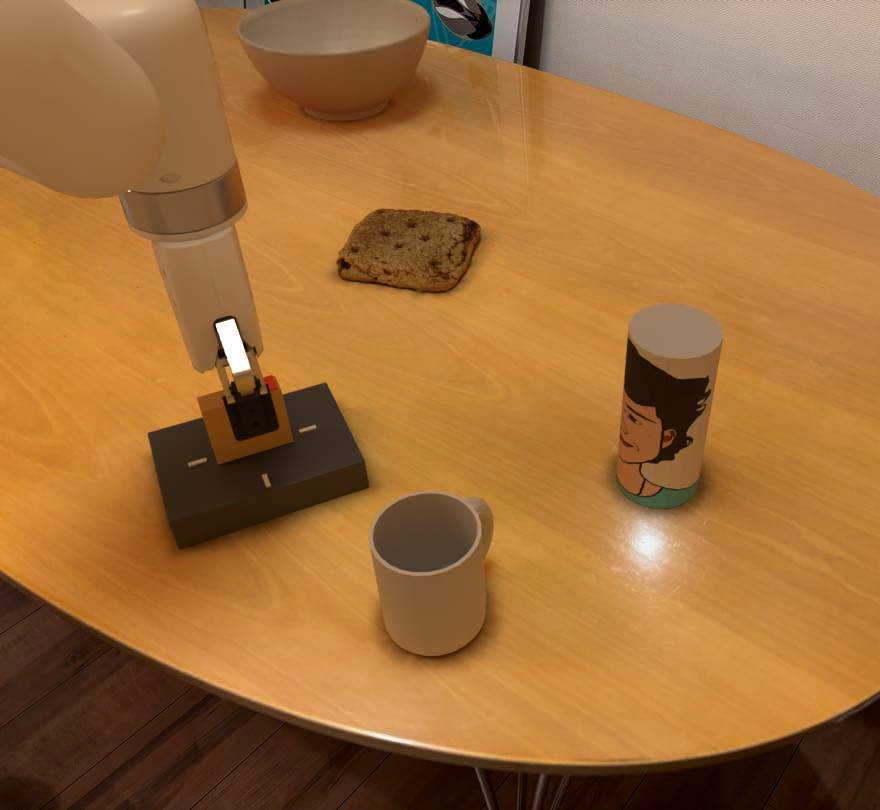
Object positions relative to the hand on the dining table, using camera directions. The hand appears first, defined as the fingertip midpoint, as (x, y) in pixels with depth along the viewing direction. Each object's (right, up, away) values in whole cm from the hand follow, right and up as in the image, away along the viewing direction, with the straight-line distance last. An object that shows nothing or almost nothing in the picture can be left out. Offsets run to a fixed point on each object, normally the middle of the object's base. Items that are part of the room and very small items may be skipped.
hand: (243, 394), depth 68 cm
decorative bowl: (-6, +44, +64) cm, 78 cm away
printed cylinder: (+32, -7, +5) cm, 34 cm away
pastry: (+8, +16, +31) cm, 36 cm away
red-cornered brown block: (0, -4, +3) cm, 5 cm away
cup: (+16, -15, -5) cm, 23 cm away
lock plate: (0, -6, +5) cm, 8 cm away
